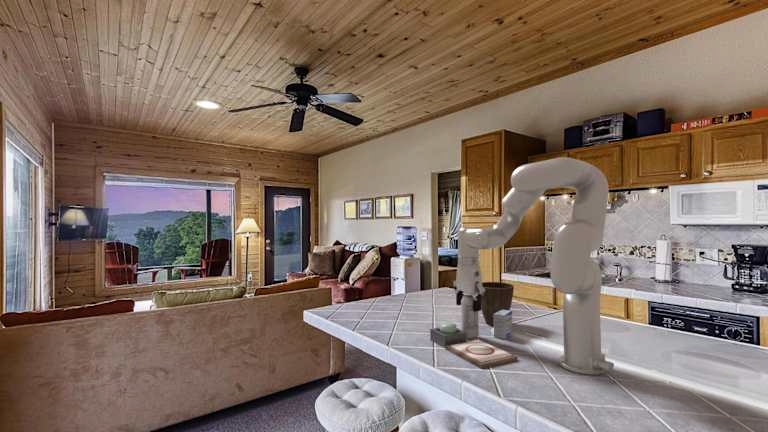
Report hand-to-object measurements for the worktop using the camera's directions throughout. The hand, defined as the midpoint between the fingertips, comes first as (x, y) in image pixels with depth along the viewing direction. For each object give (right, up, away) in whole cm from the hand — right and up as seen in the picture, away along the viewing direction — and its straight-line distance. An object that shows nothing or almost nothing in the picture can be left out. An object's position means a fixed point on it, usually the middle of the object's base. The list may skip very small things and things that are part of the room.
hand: (468, 307), depth 134 cm
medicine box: (+13, -11, +1) cm, 17 cm away
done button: (-8, -8, -5) cm, 12 cm away
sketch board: (0, -11, -18) cm, 20 cm away
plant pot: (+15, -11, +16) cm, 24 cm away
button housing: (-8, -11, -5) cm, 15 cm away
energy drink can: (+1, -11, -1) cm, 11 cm away
